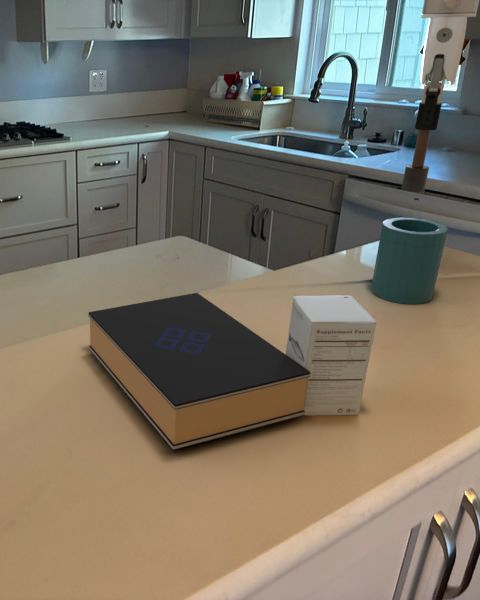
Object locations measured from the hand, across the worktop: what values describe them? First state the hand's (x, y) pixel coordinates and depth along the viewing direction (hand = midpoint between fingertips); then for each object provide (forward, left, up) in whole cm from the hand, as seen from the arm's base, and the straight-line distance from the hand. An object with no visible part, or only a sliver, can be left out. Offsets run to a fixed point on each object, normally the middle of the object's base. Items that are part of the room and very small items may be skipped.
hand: (425, 127), depth 103 cm
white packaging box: (+34, +38, -26) cm, 57 cm away
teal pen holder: (+5, +9, -26) cm, 28 cm away
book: (+49, +32, -26) cm, 64 cm away
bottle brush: (0, 0, -11) cm, 11 cm away
